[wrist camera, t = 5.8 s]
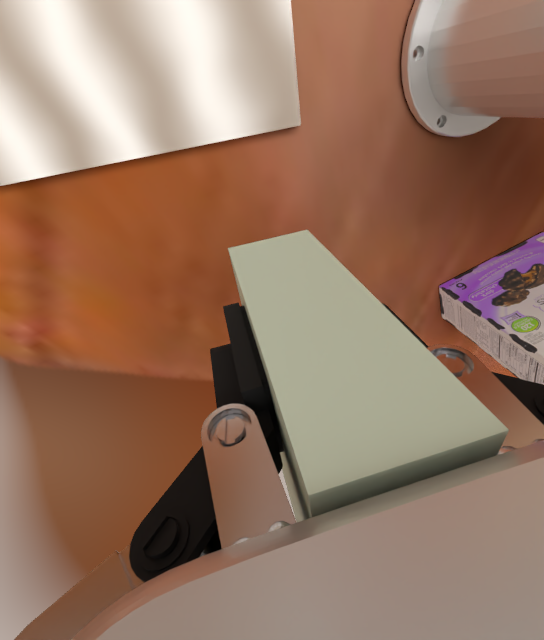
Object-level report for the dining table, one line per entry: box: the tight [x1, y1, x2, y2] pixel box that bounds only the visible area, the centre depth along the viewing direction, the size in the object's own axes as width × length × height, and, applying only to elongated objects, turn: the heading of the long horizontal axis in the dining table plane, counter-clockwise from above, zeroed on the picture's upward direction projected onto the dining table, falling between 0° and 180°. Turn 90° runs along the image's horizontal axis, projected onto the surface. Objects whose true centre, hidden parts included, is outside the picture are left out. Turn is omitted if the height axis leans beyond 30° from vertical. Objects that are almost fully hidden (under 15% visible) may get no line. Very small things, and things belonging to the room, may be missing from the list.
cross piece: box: [228, 230, 509, 522], centre depth 13 cm, size 16×3×9 cm, turn 9°
